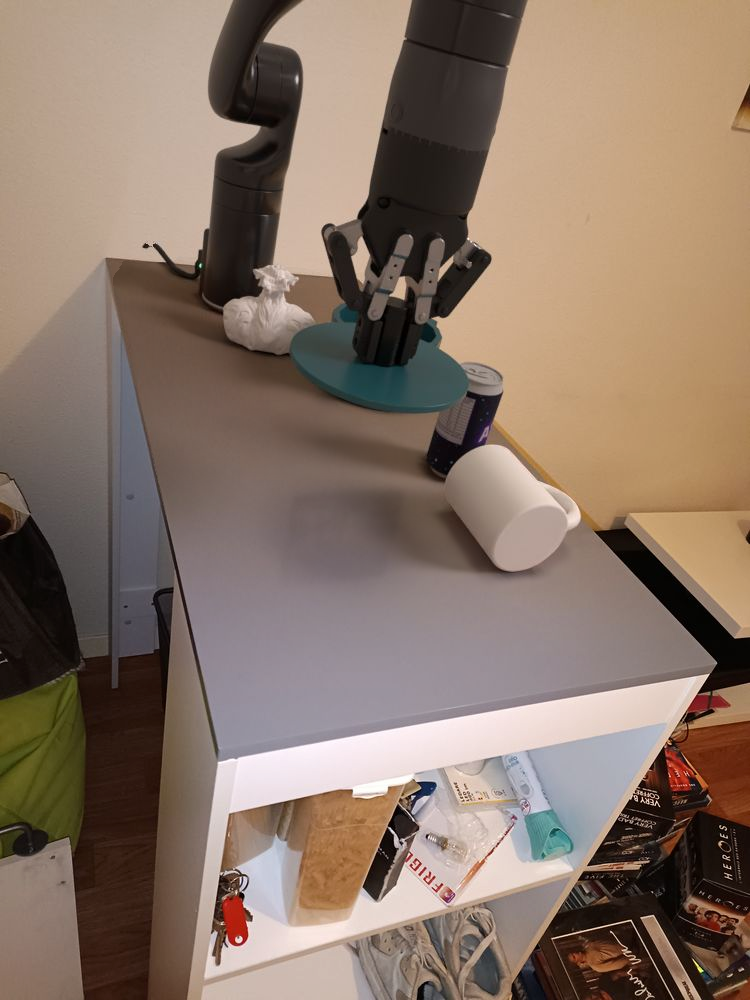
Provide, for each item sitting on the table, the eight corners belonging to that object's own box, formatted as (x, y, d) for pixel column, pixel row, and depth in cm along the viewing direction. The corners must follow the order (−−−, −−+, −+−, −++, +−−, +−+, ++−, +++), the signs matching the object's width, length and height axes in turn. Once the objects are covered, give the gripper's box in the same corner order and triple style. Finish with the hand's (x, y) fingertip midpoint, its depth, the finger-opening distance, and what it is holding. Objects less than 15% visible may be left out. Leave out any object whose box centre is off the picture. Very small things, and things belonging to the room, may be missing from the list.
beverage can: (471, 490, 79) (506, 391, 73) (420, 475, 79) (450, 375, 73) (475, 464, 84) (508, 369, 77) (427, 450, 84) (456, 354, 78)
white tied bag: (307, 366, 101) (318, 286, 101) (313, 353, 93) (325, 267, 94) (218, 351, 98) (230, 269, 99) (217, 336, 91) (230, 248, 92)
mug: (480, 576, 67) (508, 506, 63) (434, 510, 74) (456, 443, 70) (584, 565, 72) (616, 499, 68) (531, 505, 79) (557, 442, 75)
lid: (249, 352, 58) (259, 276, 55) (368, 324, 69) (383, 258, 65) (390, 440, 52) (412, 360, 48) (497, 394, 62) (522, 325, 59)
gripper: (499, 133, 55) (438, 344, 65) (325, 98, 50) (286, 334, 60) (550, 159, 50) (475, 385, 60) (360, 123, 44) (311, 378, 54)
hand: (381, 359), depth 60 cm, fingers closed on lid, 2 cm apart
